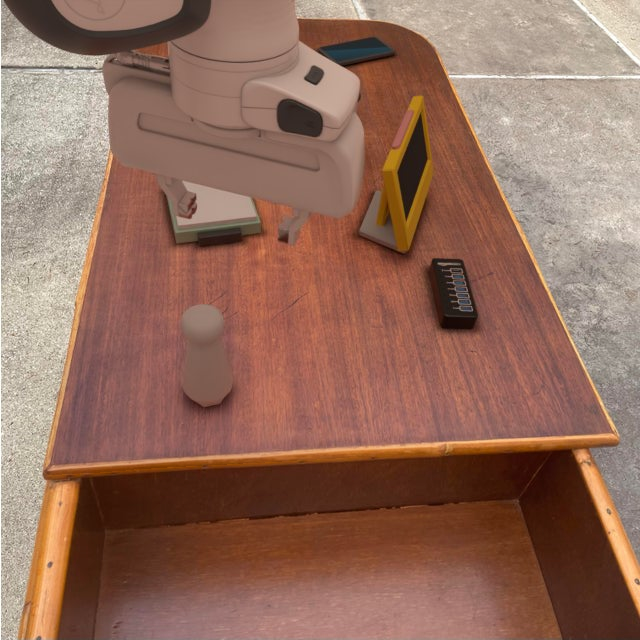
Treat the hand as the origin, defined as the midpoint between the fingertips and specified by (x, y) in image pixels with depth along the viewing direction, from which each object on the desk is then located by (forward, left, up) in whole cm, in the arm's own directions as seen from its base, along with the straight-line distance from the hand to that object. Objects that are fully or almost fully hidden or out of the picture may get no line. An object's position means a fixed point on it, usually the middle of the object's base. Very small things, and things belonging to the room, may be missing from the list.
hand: (236, 226), depth 55 cm
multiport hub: (+31, +9, -25) cm, 40 cm away
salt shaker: (-3, +1, -25) cm, 25 cm away
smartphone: (+41, +79, -25) cm, 92 cm away
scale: (+3, +33, -24) cm, 41 cm away
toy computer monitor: (+29, +26, -25) cm, 46 cm away
